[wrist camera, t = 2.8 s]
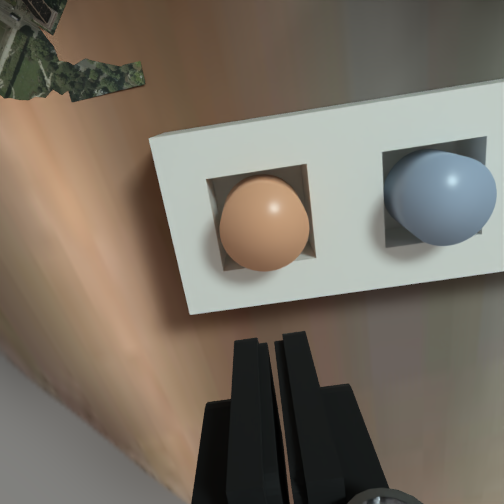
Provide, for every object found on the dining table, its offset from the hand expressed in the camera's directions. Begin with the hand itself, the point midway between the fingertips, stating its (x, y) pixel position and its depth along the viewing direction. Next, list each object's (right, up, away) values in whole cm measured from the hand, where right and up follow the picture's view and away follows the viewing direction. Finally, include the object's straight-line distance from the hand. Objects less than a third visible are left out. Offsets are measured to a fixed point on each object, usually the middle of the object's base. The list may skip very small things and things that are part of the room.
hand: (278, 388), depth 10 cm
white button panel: (+9, +8, +15) cm, 19 cm away
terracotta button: (0, +5, +13) cm, 14 cm away
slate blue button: (+9, +7, +13) cm, 17 cm away
